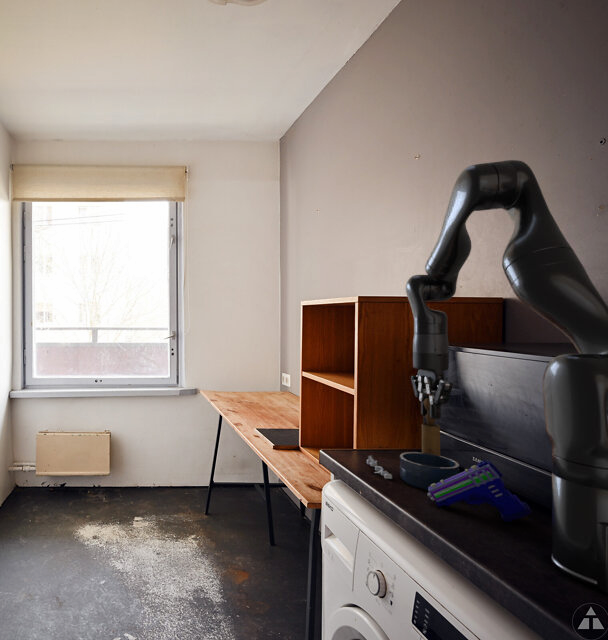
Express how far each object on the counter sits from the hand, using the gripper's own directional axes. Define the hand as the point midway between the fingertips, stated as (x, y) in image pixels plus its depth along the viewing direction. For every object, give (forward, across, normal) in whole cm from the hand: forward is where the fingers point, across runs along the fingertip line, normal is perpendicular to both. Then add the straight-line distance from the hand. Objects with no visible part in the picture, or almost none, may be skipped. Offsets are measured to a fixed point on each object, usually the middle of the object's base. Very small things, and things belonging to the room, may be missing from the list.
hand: (430, 417), depth 107 cm
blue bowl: (+13, +11, -7) cm, 19 cm away
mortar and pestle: (+13, 0, 0) cm, 13 cm away
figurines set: (+13, +3, -15) cm, 20 cm away
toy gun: (+14, +26, -7) cm, 30 cm away
